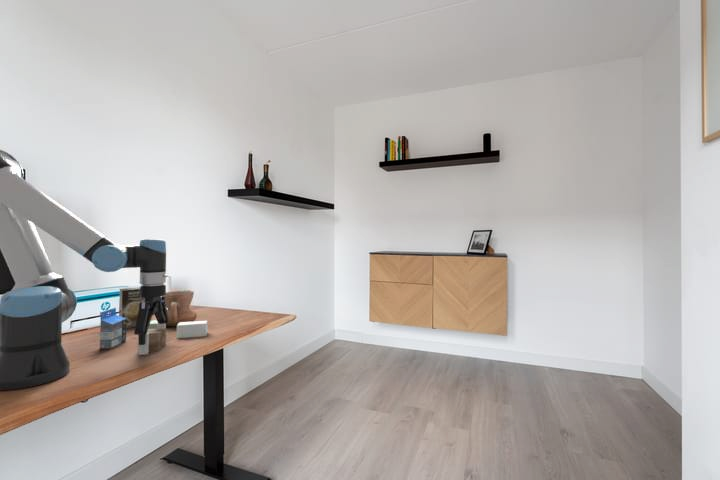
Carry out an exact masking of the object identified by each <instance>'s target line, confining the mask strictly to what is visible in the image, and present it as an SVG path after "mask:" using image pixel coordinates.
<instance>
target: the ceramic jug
mask: <svg viewBox="0 0 720 480" xmlns="http://www.w3.org/2000/svg"><path fill="white" fill-rule="evenodd" d="M194 293H195V292H194V290H191V289H190V290H188V289H187V290H186V289H184V290H181V289H179V290H171V291H166V294H165V295H164V296H165V303H166V308H167V313H168V318H169V319H168V320H169V322H168V323H165V324H166V327H167V326H168V327H177V325H178V323H179V322H193V321H195V320H196V319H197V316H198V315H197V312H196V311H195V310H194V309H191V308H190V306H191V303H192V301H193V298H194Z"/></svg>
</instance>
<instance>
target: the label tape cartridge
mask: <svg viewBox="0 0 720 480" xmlns="http://www.w3.org/2000/svg"><path fill="white" fill-rule="evenodd" d="M99 315H100V317H99V318H100V326H99V328H100V330H99V349H100V350H110V349H111V350H112V349H114V348H115V347H118V346H120V345H121V344H123V343H125V342H127V328H126V318H123V317H121V316H119V314H117V308H116V307H113V308H110V309H108V310H107V309H106V310H103V311H101V312H99Z"/></svg>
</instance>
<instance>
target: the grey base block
mask: <svg viewBox="0 0 720 480" xmlns="http://www.w3.org/2000/svg"><path fill="white" fill-rule="evenodd" d="M208 328H209V327H208V320H198V321H197V320H196V321H195V320H194V321H193V322H179V323H178V325H177V326H176V339H183V338H184V339H186V338H196V337H198V338H199V337H200V338H201V337H206V336H207V335H208Z"/></svg>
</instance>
